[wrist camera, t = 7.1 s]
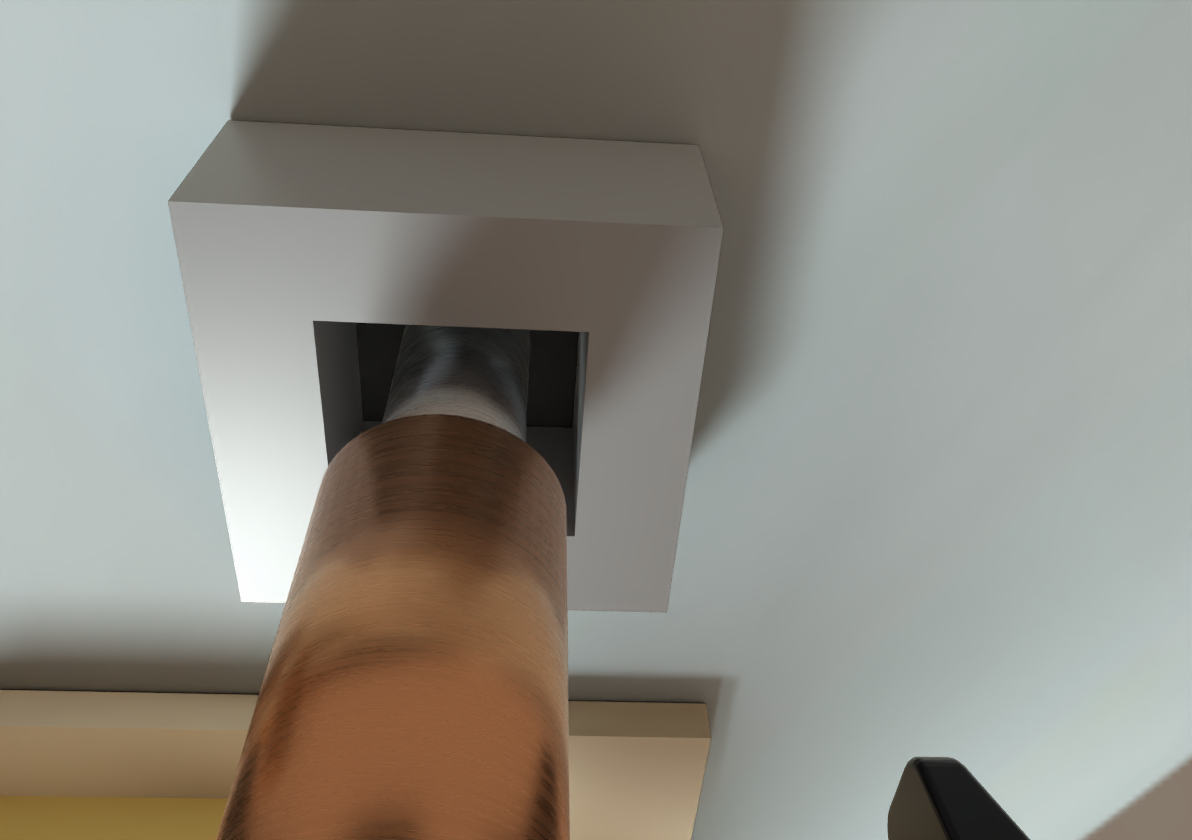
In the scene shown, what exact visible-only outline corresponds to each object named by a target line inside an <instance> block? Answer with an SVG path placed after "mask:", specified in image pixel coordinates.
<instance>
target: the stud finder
mask: <svg viewBox="0 0 1192 840" xmlns="http://www.w3.org/2000/svg"><path fill="white" fill-rule="evenodd" d="M227 801H228V799H222V798H145V797H68V796H0V840H216V839H217V835H218V832H219V828H220V825H221V822H222V818H223V815H224V811H225V808H226V804H227Z"/></svg>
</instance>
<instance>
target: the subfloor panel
mask: <svg viewBox="0 0 1192 840" xmlns="http://www.w3.org/2000/svg"><path fill="white" fill-rule="evenodd" d="M258 696H259V695H234V694H182V693H131V692H80V691H29V690H0V796H68V797H145V798H222V799H228V798H229V794H230V791H231V787H232V784H233V781H234V777H235V774H236V770H237V767H238V764H239V760H240V757H241V753H242V750H243V747H244V743H245V740H246V736H247V733H248V730H249V726H250V723H251V719H252V716H253V713H254V709H255V706H256V702H257V699H258ZM568 714H569V813H570V840H691V836H692V831H693V826H694V821H695V816H696V811H697V807H698V802H699V797H700V792H701V787H702V782H703V777H704V772H705V767H706V762H707V757H708V752H709V747H710V742H711V733H710V726H709V719H708V712H707V705H706V704H695V703H643V702H592V701H568Z"/></svg>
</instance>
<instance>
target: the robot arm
mask: <svg viewBox="0 0 1192 840" xmlns="http://www.w3.org/2000/svg"><path fill="white" fill-rule="evenodd" d="M887 826H888V839H889V840H1030V839H1029V838H1028V837H1027V836H1026V834H1025V833H1024V832H1023V831H1022V830H1021V829H1020V828H1019V827H1018V826H1017V824H1016V823H1015V822H1014V821H1013V820H1012V819H1011V818H1010V817H1009V815H1008V814H1007V813H1006V812H1005V811H1004V810H1003V809H1002V808H1001V806H1000V805H999V804H998V803H997V802H996V801H995V800H994V799H993V797H992V796H991V795H990V794H989V793H988V792H987V791H986V790H985V789H984V787H983V786H982V785H981V784H980V783H979V782H978V781H977V780H976V778H975V777H974V776H973V775H972V774H971V773H970V772H969V771H968V769H967V768H966V767H965V766H964V765H963V764H961V763H960V762H959V761H957V760H955V759H953V758H949V757H914V758H912V759H911V760H910V761H909V762H908V763H907V765H906V767H905V769H904V772H903V774H902V777H901V780H900V782H899V785H898V788H897V790H896V793H895V796H894V798H893V801H892V803H891V806H890V809H889V813H888V825H887Z"/></svg>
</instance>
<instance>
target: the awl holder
mask: <svg viewBox="0 0 1192 840" xmlns="http://www.w3.org/2000/svg"><path fill="white" fill-rule="evenodd" d="M168 205H169V210H170V215H171V221H172V226H173V232H174V237H175V243H176V248H177V254H178V259H179V265H180V270H181V275H182V281H183V286H184V292H185V297H186V303H187V308H188V314H189V319H190V325H191V330H192V335H193V341H194V346H195V352H196V357H197V363H198V368H199V374H200V379H201V385H202V390H203V395H204V401H205V406H206V412H207V417H208V423H209V428H210V434H211V439H212V445H213V450H214V455H215V461H216V466H217V472H218V477H219V483H220V488H221V494H222V499H223V505H224V510H225V515H226V521H227V526H228V532H229V537H230V543H231V548H232V554H233V559H234V565H235V570H236V575H237V581H238V586H239V592H240V597H241V602H269V603H286V600H287V597H288V593H289V590H290V587H291V583H292V580H293V576H294V573H295V570H296V566H297V563H298V559H299V556H300V552H301V549H302V546H303V542H304V539H305V535H306V532H307V529H308V525H309V522H310V518H311V515H312V512H313V508H314V505H315V501H316V498H317V495H318V491H319V488H320V485H321V482H322V479H323V476H324V473H325V471H326V469H327V468H328V466H329V464H330V462H331V461H332V460H333V458H334V457H335V456H336V454H337V453H338V452H339V451H340V450H341V449H342V448H343V447H344V446H345V445H346V444H347V443H348V442H350V441H351V440H352V439H354V438H355V437H357V436H358V435H360V434H361V433H363V432H365V431H367V430H369V429H370V428H372V427H374V426H377V425H379V424H382V421H364V420H363V411H362V398H361V385H360V373H359V360H358V347H357V334H356V322H358V323H382V324H406V325H430V326H455V327H479V328H503V329H527V330H551V331H575V332H579V338H578V353H577V369H576V384H575V399H574V415H573V428H560V427H532V426H527V428H526V443H527V444H528V445H530V446H531V447H532V448H534V449H535V450H536V451H537V452H538V453H539V454H540V455H541V456H542V457H543V458H544V459H545V461H546V462H547V463H548V464H549V466H550V467H551V468H552V470H553V471H554V473H555V475H556V477H557V478H558V480H559V482H560V485H561V488H562V490H563V493H564V497H565V502H566V518H567V610H590V611H630V612H667V608H668V602H669V595H670V588H671V581H672V574H673V568H674V561H675V554H676V547H677V541H678V534H679V527H680V520H681V514H682V507H683V500H684V493H685V486H686V480H687V473H688V466H689V459H690V453H691V446H692V439H693V432H694V425H695V419H696V412H697V405H698V398H699V392H700V385H701V378H702V371H703V365H704V358H705V351H706V344H707V337H708V331H709V324H710V317H711V310H712V304H713V297H714V290H715V283H716V277H717V270H718V263H719V256H720V249H721V243H722V236H723V229H724V227H723V224H722V221H721V217H720V214H719V211H718V207H717V204H716V201H715V197H714V194H713V191H712V187H711V184H710V181H709V177H708V174H707V171H706V167H705V164H704V161H703V157H702V154H701V151H700V147H699V145H686V144H667V143H648V142H629V141H610V140H591V139H572V138H554V137H535V136H516V135H497V134H478V133H459V132H440V131H421V130H402V129H383V128H364V127H346V126H327V125H308V124H289V123H270V122H251V121H232V120H228V121H227V122H226V124H225V125H224V126H223V128H222V129H221V131H220V132H219V133H218V135H217V136H216V137H215V139H214V140H213V141H212V143H211V144H210V145H209V147H208V148H207V149H206V151H205V152H204V153H203V155H202V156H201V157H200V159H199V160H198V161H197V163H196V164H195V166H194V167H193V168H192V170H191V171H190V172H189V174H188V175H187V176H186V178H185V179H184V180H183V182H182V183H181V184H180V186H179V187H178V188H177V190H176V191H175V192H174V194H173V195H172V196H171V198H170V199H169V200H168Z"/></svg>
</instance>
